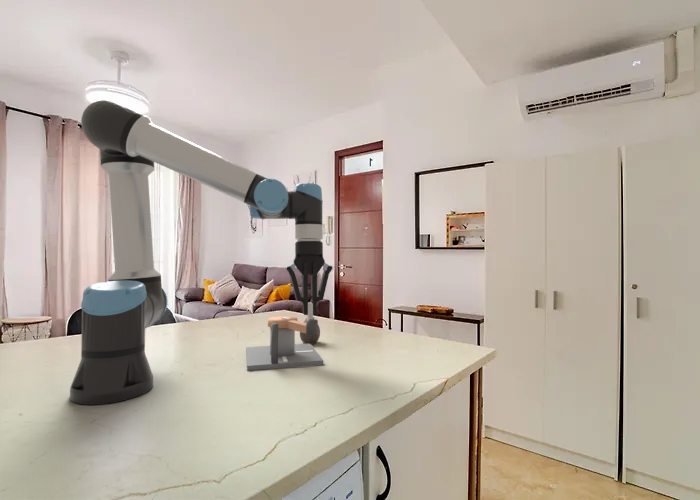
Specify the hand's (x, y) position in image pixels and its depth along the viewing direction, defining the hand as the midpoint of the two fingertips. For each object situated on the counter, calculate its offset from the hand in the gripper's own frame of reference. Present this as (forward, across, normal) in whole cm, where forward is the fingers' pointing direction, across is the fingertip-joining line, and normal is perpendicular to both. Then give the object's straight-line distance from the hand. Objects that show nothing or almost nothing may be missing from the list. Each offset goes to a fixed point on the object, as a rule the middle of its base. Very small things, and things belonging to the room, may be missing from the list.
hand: (309, 326), depth 103 cm
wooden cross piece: (+1, +4, -3) cm, 5 cm away
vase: (+10, -4, -24) cm, 27 cm away
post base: (+10, +7, -8) cm, 15 cm away
